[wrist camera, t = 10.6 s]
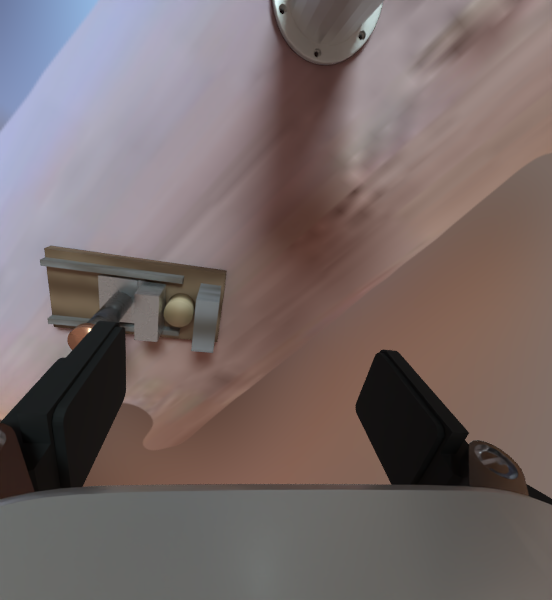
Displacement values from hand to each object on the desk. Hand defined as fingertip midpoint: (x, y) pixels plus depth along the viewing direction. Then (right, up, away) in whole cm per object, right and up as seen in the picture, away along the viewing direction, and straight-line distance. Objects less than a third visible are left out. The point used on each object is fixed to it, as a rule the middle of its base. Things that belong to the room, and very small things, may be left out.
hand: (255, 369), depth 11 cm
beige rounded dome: (-14, +2, +34) cm, 36 cm away
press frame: (-19, +3, +34) cm, 39 cm away
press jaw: (-20, +3, +32) cm, 38 cm away
